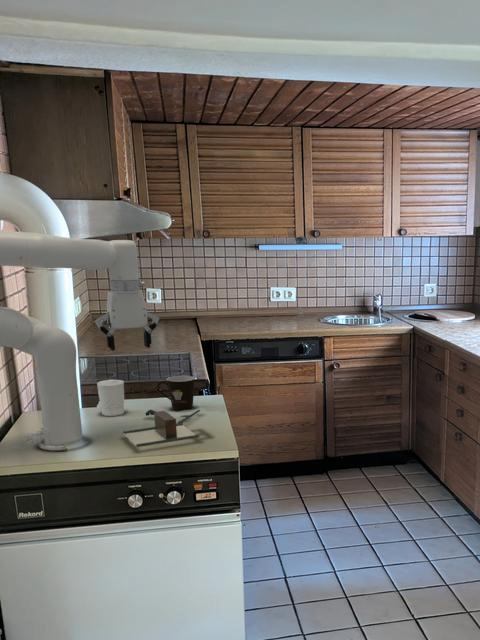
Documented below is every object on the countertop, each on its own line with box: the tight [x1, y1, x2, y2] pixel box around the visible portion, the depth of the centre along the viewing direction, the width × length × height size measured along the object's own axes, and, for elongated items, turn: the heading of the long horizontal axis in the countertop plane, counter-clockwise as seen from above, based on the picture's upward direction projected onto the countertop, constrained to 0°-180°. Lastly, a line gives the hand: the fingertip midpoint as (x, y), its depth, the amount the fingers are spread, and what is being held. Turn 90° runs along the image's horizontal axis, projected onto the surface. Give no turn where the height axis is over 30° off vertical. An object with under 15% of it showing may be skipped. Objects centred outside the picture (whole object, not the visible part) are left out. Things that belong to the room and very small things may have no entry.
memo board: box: [122, 422, 200, 448], centre depth 194 cm, size 17×14×2 cm
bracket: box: [145, 409, 201, 424], centre depth 214 cm, size 14×15×3 cm
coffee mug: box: [156, 375, 196, 412], centre depth 226 cm, size 12×9×10 cm
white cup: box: [96, 379, 125, 417], centre depth 219 cm, size 8×8×10 cm
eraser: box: [153, 410, 177, 440], centre depth 194 cm, size 3×10×6 cm, turn 33°
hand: (130, 348), depth 196 cm, fingers open, 9 cm apart
